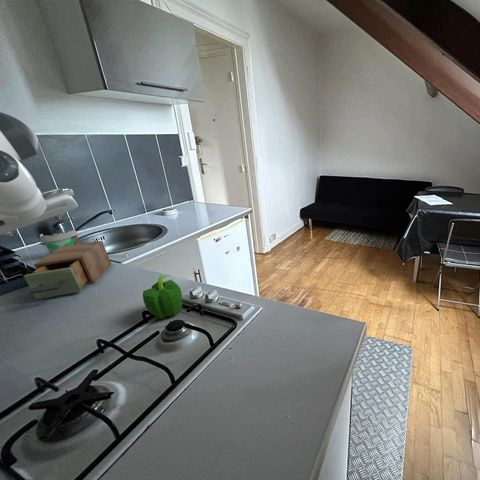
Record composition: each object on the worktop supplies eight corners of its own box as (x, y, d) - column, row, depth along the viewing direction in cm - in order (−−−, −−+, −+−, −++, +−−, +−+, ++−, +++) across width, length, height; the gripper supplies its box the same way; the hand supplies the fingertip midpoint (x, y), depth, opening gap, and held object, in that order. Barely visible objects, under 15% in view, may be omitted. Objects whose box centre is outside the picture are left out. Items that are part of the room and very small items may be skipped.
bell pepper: (171, 325, 63) (159, 290, 59) (143, 322, 65) (130, 288, 61) (193, 304, 71) (184, 272, 67) (168, 301, 73) (157, 270, 69)
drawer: (73, 299, 75) (61, 275, 72) (26, 308, 72) (12, 283, 69) (100, 271, 91) (91, 250, 88) (62, 277, 88) (52, 256, 85)
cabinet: (93, 283, 85) (81, 256, 81) (48, 291, 82) (33, 264, 78) (111, 264, 98) (102, 240, 94) (73, 270, 95) (61, 246, 91)
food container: (41, 262, 103) (29, 239, 99) (51, 256, 108) (40, 233, 104) (78, 257, 106) (67, 234, 102) (86, 251, 111) (76, 229, 107)
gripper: (63, 177, 69) (73, 201, 80) (-54, 208, 56) (-24, 233, 66) (78, 196, 69) (86, 218, 80) (-34, 231, 56) (-7, 252, 67)
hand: (36, 225), depth 73 cm, fingers open, 8 cm apart
